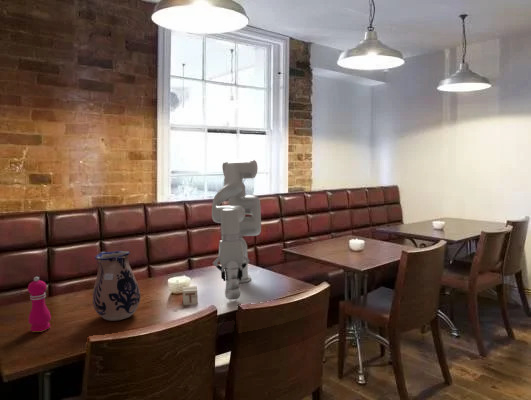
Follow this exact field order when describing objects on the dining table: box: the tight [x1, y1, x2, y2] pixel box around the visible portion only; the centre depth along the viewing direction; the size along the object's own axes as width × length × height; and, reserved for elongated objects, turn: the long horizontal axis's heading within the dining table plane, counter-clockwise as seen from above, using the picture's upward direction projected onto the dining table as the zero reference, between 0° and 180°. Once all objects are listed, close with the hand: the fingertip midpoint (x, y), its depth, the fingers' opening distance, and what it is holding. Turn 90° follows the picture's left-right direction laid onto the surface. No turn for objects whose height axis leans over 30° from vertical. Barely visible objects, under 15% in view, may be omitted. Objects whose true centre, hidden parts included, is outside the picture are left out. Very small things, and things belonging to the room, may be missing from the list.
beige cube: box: [182, 285, 199, 306], centre depth 179 cm, size 6×6×6 cm
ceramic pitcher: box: [92, 250, 141, 322], centre depth 165 cm, size 18×21×25 cm
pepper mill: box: [27, 276, 52, 332], centre depth 153 cm, size 7×7×20 cm
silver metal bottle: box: [224, 261, 241, 301], centre depth 177 cm, size 6×7×20 cm
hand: (232, 279), depth 177 cm, fingers closed on silver metal bottle, 6 cm apart
